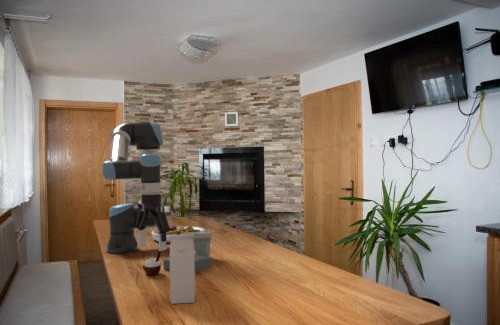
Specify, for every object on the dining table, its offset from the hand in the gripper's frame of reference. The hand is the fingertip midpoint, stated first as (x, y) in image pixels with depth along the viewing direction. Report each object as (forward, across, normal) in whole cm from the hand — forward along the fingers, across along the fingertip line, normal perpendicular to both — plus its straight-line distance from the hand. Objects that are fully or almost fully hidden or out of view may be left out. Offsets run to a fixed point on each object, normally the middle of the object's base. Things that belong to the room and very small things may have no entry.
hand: (152, 248), depth 151 cm
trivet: (+10, +4, +14) cm, 18 cm away
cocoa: (+11, 0, 0) cm, 11 cm away
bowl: (+10, -51, +51) cm, 73 cm away
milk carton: (+11, +32, -10) cm, 35 cm away
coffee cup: (+10, -3, +28) cm, 30 cm away
